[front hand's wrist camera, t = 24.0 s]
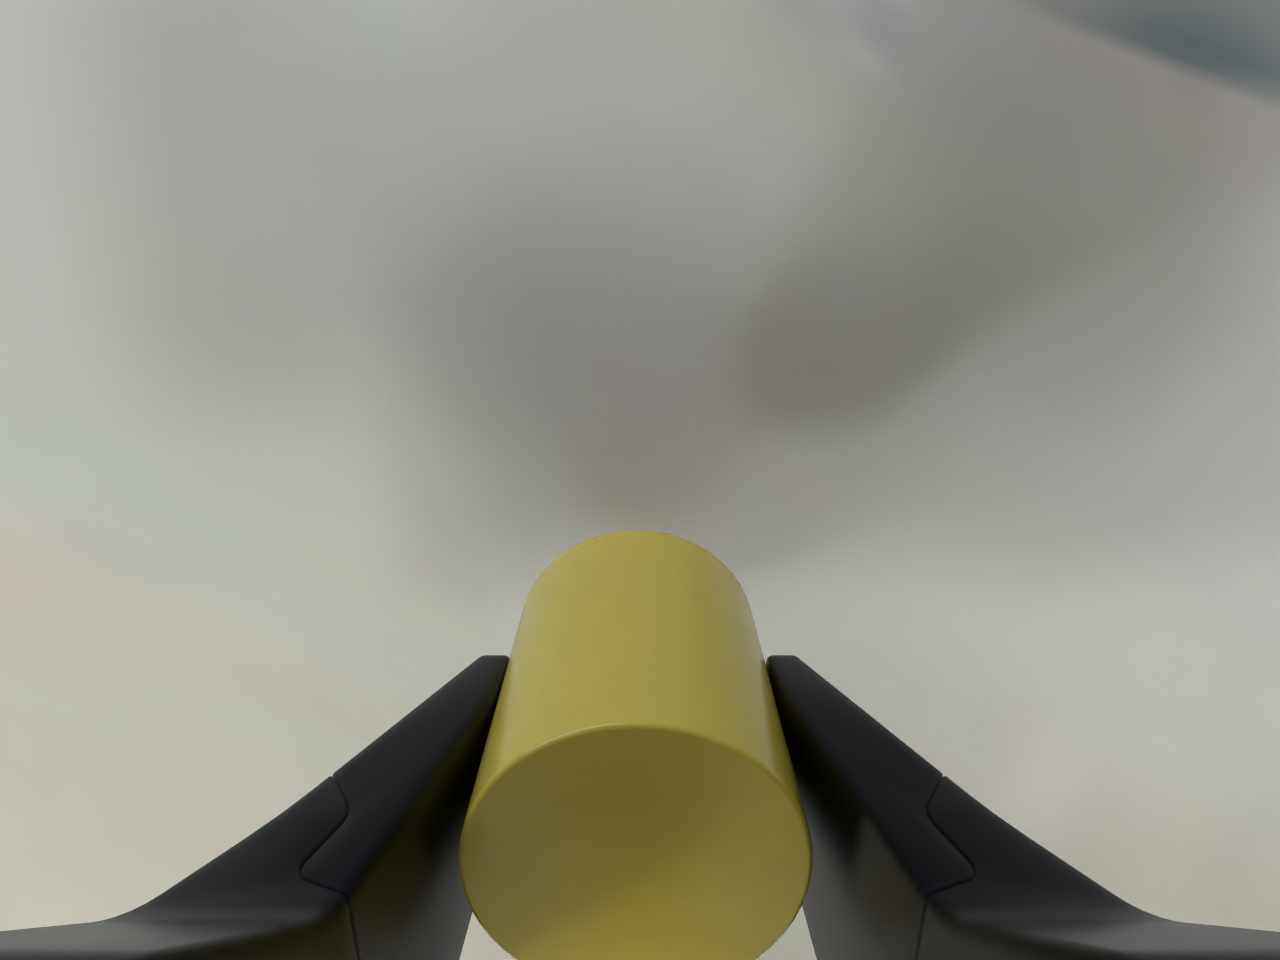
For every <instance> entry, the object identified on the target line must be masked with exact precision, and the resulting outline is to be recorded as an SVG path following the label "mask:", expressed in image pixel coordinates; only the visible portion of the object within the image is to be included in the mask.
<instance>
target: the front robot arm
mask: <svg viewBox="0 0 1280 960" xmlns="http://www.w3.org/2000/svg"><path fill="white" fill-rule="evenodd" d="M508 662H509V657H507V656H504V655H485V656H481V657H480V658H478V659H477V660H476V661H474V662H473V663H472V664H471V665H469V666H468V667H467V668H466V669H464V670H463V671H462V672H461V673H459V674H458V675H457V676H455V677H454V678H453V679H452V680H450V681H449V682H448V683H447V684H445V685H444V686H443V687H442V688H440V689H439V690H438V691H437V692H435V693H434V694H433V695H432V696H430V697H429V698H428V699H427V700H425V701H424V702H423V703H422V704H420V705H419V706H418V707H416V708H415V709H414V710H413V711H411V712H410V713H409V714H408V715H406V716H405V717H404V718H403V719H401V720H400V721H399V722H398V723H396V724H395V725H394V726H393V727H391V728H390V729H389V730H388V731H386V732H385V733H384V734H383V735H381V736H380V737H379V738H377V739H376V740H375V741H374V742H372V743H371V744H370V745H369V746H367V747H366V748H365V749H364V750H362V751H361V752H360V753H359V754H357V755H356V756H355V757H354V758H352V759H351V760H350V761H349V762H347V763H346V764H345V765H344V766H342V767H341V768H340V769H338V770H337V771H336V772H335V773H334V774H333V777H332V776H330V777H328V778H327V779H326V780H324V781H323V782H322V783H321V784H319V785H318V786H317V787H316V788H314V789H313V790H312V791H310V792H309V793H308V794H307V795H305V796H304V797H303V798H301V799H300V800H299V801H297V802H296V803H295V804H293V805H292V806H291V807H289V808H288V809H287V810H285V811H284V812H283V813H281V814H280V815H279V816H277V817H276V818H274V819H273V820H271V821H270V822H268V823H267V824H266V825H264V826H263V827H261V828H260V829H258V830H257V831H255V832H254V833H253V834H251V835H250V836H248V837H247V838H245V839H244V840H242V841H241V842H239V843H238V844H236V845H235V846H233V847H232V848H230V849H229V850H227V851H226V852H224V853H223V854H221V855H220V856H218V857H217V858H215V859H214V860H212V861H211V862H209V863H208V864H206V865H205V866H203V867H202V868H200V869H199V870H197V871H196V872H194V873H193V874H191V875H190V876H188V877H187V878H185V879H183V880H182V881H180V882H179V883H177V884H176V885H174V886H173V887H171V888H170V889H168V890H167V891H165V892H164V893H162V894H161V895H159V896H158V897H156V898H154V899H153V900H151V901H149V902H148V903H146V904H144V905H142V906H140V907H138V908H136V909H134V910H132V911H130V912H127V913H125V914H122V915H119V916H117V917H114V918H110V919H106V920H103V921H98V922H91V923H81V924H71V925H61V926H51V927H41V928H31V929H21V930H11V931H1V932H0V960H459V958H460V955H461V951H462V947H463V944H464V940H465V937H466V933H467V929H468V926H469V922H470V918H471V915H472V909H471V907H470V905H469V903H468V900H467V897H466V895H465V892H464V889H463V885H462V880H461V876H460V871H459V852H458V850H459V843H460V836H461V831H462V827H463V823H464V820H465V816H466V813H467V809H468V806H469V802H470V798H471V795H472V791H473V788H474V784H475V780H476V777H477V773H478V770H479V766H480V762H481V759H482V755H483V752H484V748H485V744H486V741H487V737H488V734H489V730H490V727H491V723H492V719H493V716H494V712H495V709H496V705H497V701H498V698H499V694H500V691H501V687H502V683H503V680H504V676H505V673H506V669H507V666H508ZM766 668H767V672H768V676H769V679H770V683H771V687H772V691H773V695H774V698H775V702H776V706H777V710H778V713H779V717H780V721H781V725H782V728H783V732H784V736H785V740H786V743H787V747H788V751H789V755H790V758H791V762H792V766H793V770H794V773H795V777H796V781H797V785H798V788H799V792H800V796H801V800H802V803H803V807H804V811H805V815H806V819H807V822H808V826H809V830H810V836H811V841H812V847H813V865H812V871H811V877H810V883H809V887H808V890H807V893H806V895H805V898H804V901H803V904H802V906H803V910H804V913H805V917H806V921H807V924H808V928H809V932H810V935H811V939H812V943H813V947H814V950H815V954H816V958H817V960H1280V932H1273V931H1263V930H1253V929H1243V928H1233V927H1223V926H1213V925H1203V924H1192V923H1183V922H1176V921H1172V920H1168V919H1164V918H1160V917H1158V916H1155V915H1152V914H1150V913H1147V912H1144V911H1142V910H1140V909H1138V908H1136V907H1134V906H1132V905H1130V904H1128V903H1127V902H1125V901H1123V900H1122V899H1120V898H1119V897H1117V896H1115V895H1114V894H1112V893H1111V892H1109V891H1108V890H1106V889H1105V888H1103V887H1102V886H1100V885H1099V884H1097V883H1096V882H1094V881H1093V880H1091V879H1090V878H1088V877H1087V876H1085V875H1084V874H1082V873H1081V872H1079V871H1078V870H1076V869H1075V868H1073V867H1072V866H1070V865H1069V864H1067V863H1066V862H1064V861H1063V860H1061V859H1060V858H1058V857H1057V856H1055V855H1054V854H1052V853H1051V852H1049V851H1048V850H1046V849H1045V848H1043V847H1042V846H1040V845H1039V844H1037V843H1036V842H1034V841H1033V840H1031V839H1030V838H1028V837H1027V836H1025V835H1024V834H1023V833H1021V832H1020V831H1018V830H1017V829H1015V828H1014V827H1013V826H1011V825H1010V824H1008V823H1007V822H1005V821H1004V820H1003V819H1001V818H1000V817H998V816H997V815H995V814H994V813H993V812H991V811H990V810H989V809H987V808H986V807H985V806H983V805H982V804H981V803H980V802H978V801H977V800H976V799H974V798H973V797H972V796H970V795H969V794H968V793H966V792H965V791H964V790H963V789H961V788H960V787H959V786H958V785H956V784H955V783H954V782H953V781H951V780H950V779H949V778H948V777H946V776H944V777H943V774H942V773H941V772H940V771H939V770H937V769H936V768H935V767H934V766H932V765H931V764H930V763H929V762H927V761H926V760H925V759H924V758H922V757H921V756H920V755H919V754H917V753H916V752H915V751H914V750H912V749H911V748H910V747H909V746H907V745H906V744H905V743H904V742H902V741H901V740H900V739H899V738H897V737H896V736H895V735H894V734H892V733H891V732H890V731H889V730H887V729H886V728H885V727H884V726H882V725H881V724H880V723H879V722H877V721H876V720H875V719H874V718H872V717H871V716H870V715H869V714H867V713H866V712H865V711H864V710H862V709H861V708H860V707H859V706H857V705H856V704H855V703H854V702H852V701H851V700H850V699H849V698H847V697H846V696H845V695H844V694H842V693H841V692H840V691H839V690H837V689H836V688H835V687H834V686H832V685H831V684H830V683H829V682H827V681H826V680H825V679H824V678H822V677H821V676H820V675H819V674H817V673H816V672H815V671H814V670H813V669H811V668H810V667H809V666H808V665H806V664H805V663H804V662H803V661H801V660H800V659H799V658H797V657H796V656H792V655H773V656H770V657H768V659H767V661H766Z"/></svg>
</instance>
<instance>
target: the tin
mask: <svg viewBox="0 0 1280 960" xmlns="http://www.w3.org/2000/svg"><path fill="white" fill-rule="evenodd" d="M458 852H459V871H460V876H461V880H462V885H463V889H464V892H465V895H466V897H467V900H468V903H469V905H470V907H471V909H472V911H473V912H474V914H475V916H476V918H477V919H478V921H479V923H480V924H481V925H482V926H483V928H484V929H485V930H486V932H487V933H488V934H489V935H490V937H491V938H492V939H493V940H494V941H495V942H496V943H497V944H498V945H500V946H501V947H502V948H503V949H504V950H505V951H506V952H507V953H509V954H510V955H511V956H513V957H514V958H515V959H517V960H755V959H756V958H758V957H759V956H760V955H761V954H763V953H764V952H765V951H766V950H768V949H769V948H770V947H771V946H772V945H773V944H774V943H775V942H776V941H777V940H778V939H779V938H780V937H781V936H782V935H783V934H784V932H785V931H786V930H787V928H788V927H789V926H790V924H791V923H792V922H793V920H794V919H795V917H796V915H797V913H798V911H799V909H800V907H801V906H802V904H803V901H804V898H805V895H806V893H807V890H808V887H809V883H810V877H811V871H812V865H813V847H812V841H811V836H810V830H809V826H808V822H807V819H806V815H805V811H804V807H803V803H802V800H801V796H800V792H799V788H798V785H797V781H796V777H795V773H794V770H793V766H792V762H791V758H790V755H789V751H788V747H787V743H786V740H785V736H784V732H783V728H782V725H781V721H780V717H779V713H778V710H777V706H776V702H775V698H774V695H773V691H772V687H771V683H770V679H769V676H768V672H767V668H766V664H765V661H764V657H763V653H762V649H761V646H760V642H759V638H758V634H757V631H756V627H755V623H754V619H753V616H752V612H751V608H750V605H749V603H748V600H747V597H746V595H745V593H744V591H743V589H742V587H741V585H740V583H739V582H738V581H737V579H736V578H735V576H734V575H733V574H732V572H731V571H730V570H729V569H728V568H727V567H726V566H725V565H724V564H723V563H722V562H721V561H720V560H719V559H717V558H716V557H715V556H714V555H712V554H711V553H710V552H708V551H707V550H705V549H703V548H702V547H700V546H698V545H696V544H694V543H692V542H690V541H687V540H685V539H683V538H680V537H676V536H673V535H670V534H666V533H660V532H654V531H642V530H631V531H619V532H613V533H608V534H603V535H600V536H597V537H594V538H591V539H588V540H586V541H584V542H582V543H580V544H578V545H575V546H574V547H572V548H571V549H569V550H567V551H566V552H564V553H563V554H561V555H560V556H559V557H558V558H556V559H555V560H554V561H553V562H552V563H551V564H550V565H549V566H548V567H547V568H546V569H545V570H544V571H543V572H542V573H541V575H540V576H539V577H538V579H537V580H536V582H535V583H534V585H533V586H532V588H531V591H530V593H529V595H528V597H527V599H526V602H525V605H524V608H523V612H522V615H521V619H520V622H519V626H518V630H517V633H516V637H515V640H514V644H513V648H512V651H511V655H510V658H509V662H508V666H507V669H506V673H505V676H504V680H503V683H502V687H501V691H500V694H499V698H498V701H497V705H496V709H495V712H494V716H493V719H492V723H491V727H490V730H489V734H488V737H487V741H486V744H485V748H484V752H483V755H482V759H481V762H480V766H479V770H478V773H477V777H476V780H475V784H474V788H473V791H472V795H471V798H470V802H469V806H468V809H467V813H466V816H465V820H464V823H463V827H462V831H461V836H460V843H459V850H458Z"/></svg>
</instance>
